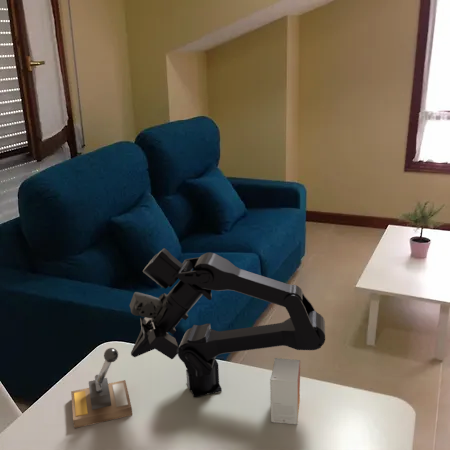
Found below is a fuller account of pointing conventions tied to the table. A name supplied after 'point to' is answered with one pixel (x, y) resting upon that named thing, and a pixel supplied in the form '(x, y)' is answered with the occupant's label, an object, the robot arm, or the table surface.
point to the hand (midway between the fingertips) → (132, 355)
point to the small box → (285, 391)
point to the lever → (105, 367)
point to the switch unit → (100, 403)
